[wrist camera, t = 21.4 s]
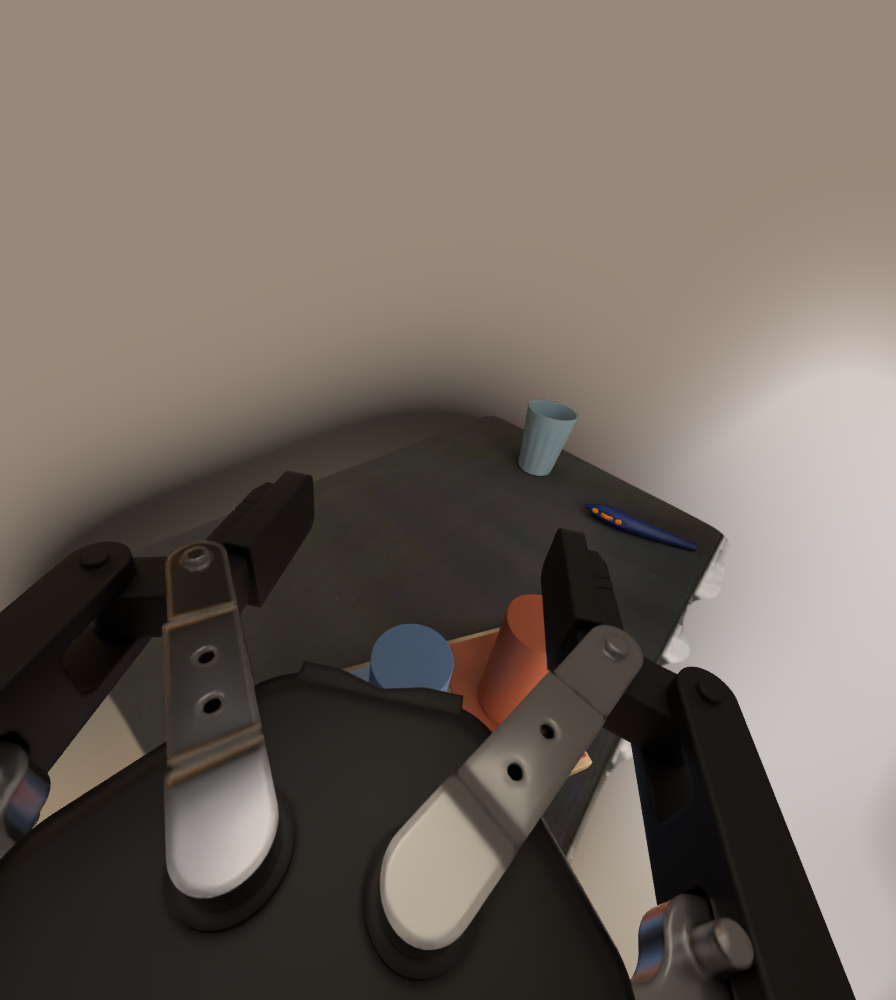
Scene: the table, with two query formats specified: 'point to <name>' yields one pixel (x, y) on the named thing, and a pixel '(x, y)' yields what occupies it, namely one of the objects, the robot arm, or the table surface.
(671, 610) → the table surface
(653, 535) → the tapered navy handle
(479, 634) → the board
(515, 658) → the rust canister
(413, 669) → the blue canister
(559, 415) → the cup
